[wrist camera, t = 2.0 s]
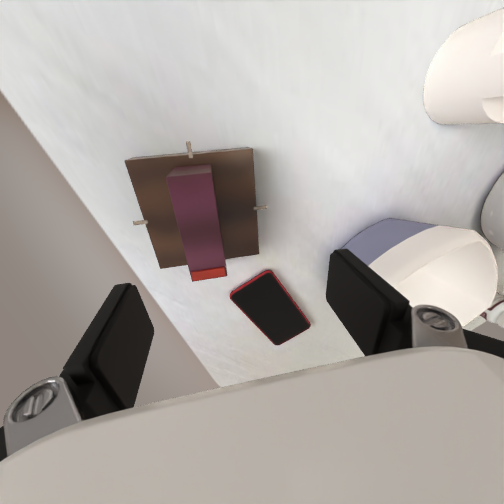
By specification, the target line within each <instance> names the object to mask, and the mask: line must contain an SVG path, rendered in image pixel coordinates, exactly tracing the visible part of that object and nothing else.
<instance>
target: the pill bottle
mask: <svg viewBox="0 0 504 504" xmlns="http://www.w3.org/2000/svg"><path fill="white" fill-rule="evenodd" d="M480 316H482V317H483V318H485V319H486V320H488V321H490V322H492V323H497V324H498V325H499V326H500V327H502V328H504V296H503V295H501V294H499V293H497V292H496V295H495V297H494V299H493V302H492V304H491V306H490V307H489V308H488V309H486V310H485V311H484V312H483V313H481V314H480Z"/></svg>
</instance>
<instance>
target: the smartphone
mask: <svg viewBox="0 0 504 504" xmlns="http://www.w3.org/2000/svg"><path fill="white" fill-rule="evenodd" d="M230 299H231V300H232V301H233V302H234V303H235V304H236V305H237V306H238V307H239V308H240V309H241V311H242V312H243V313H244V314H245V315H246V316H247V317H248V318H249V319H250V320H251V321H252V322H253V323H254V324H255V325H256V326H257V327H258V328H259V329H260V330H261V331H262V332H263V333H264V334H265V335H266V336H267V337H268V339H269V340H270V341H271V342H272V343H273V344H274V345H281V344H282V343H284V342H286V341H288V340H289V339H291V338H293V337H295V336H297V335H298V334H300V333H302V332H304V331H305V330H307V329H309V328H310V326H311V324H310V322H309V321H308V320H307V318H306V317H305V315H304V314H303V313H302V311H301V310H300V309H299V307H298V306H297V305H296V303H295V302H294V300H293V299H292V298H291V296H290V295H289V294H288V292H287V291H286V290H285V288H284V287H283V286H282V284H281V283H280V281H279V280H278V279H277V277H276V276H275V275H274V273H273V272H272V271H269V270H266V271H264V272H263V273H261V274H259V275H258V276H256V277H255V278H253V279H251V280H250V281H248V282H247V283H245V284H243V285H242V286H240V287H239V288H237V289H235V290H234V291H232V292H231V294H230Z"/></svg>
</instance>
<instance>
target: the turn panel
mask: <svg viewBox="0 0 504 504" xmlns="http://www.w3.org/2000/svg"><path fill="white" fill-rule="evenodd" d="M186 144H187V149H188V153H179V154H168V155H157V156H146V157H135V158H131V159H128V160H125V164H126V167H127V170H128V173H129V176H130V179H131V182H132V185H133V188H134V191H135V194H136V197H137V200H138V203H139V206H140V209H141V212H142V215H143V218H144V220H142V221H133V224H134V225H139V224H146V227H147V230H148V233H149V236H150V239H151V242H152V245H153V248H154V251H155V254H156V257H157V260H158V263H159V266H160V269H162V268H169V267H176V266H182V265H188V263H187V259H186V255H185V251H184V247H183V244H182V240H181V236H180V232H179V228H178V224H177V220H176V216H175V212H174V208H173V204H172V201H171V197H170V193H169V189H168V185H167V181H166V176H167V175H168V174H169V173H170V172H171V171H172V170H173V169H174V168H175V167H186V166H196V165H206V164H211V168H212V175H213V181H214V188H215V194H216V201H217V207H218V214H219V220H220V227H221V234H222V240H223V247H224V253H225V259H230V258H236V257H243V256H250V255H257V254H259V242H258V226H257V210H260V209H266V205H264V206H256V194H255V178H254V162H253V149H252V148H249V147H245V148H234V149H223V150H212V151H201V152H192V149H191V143H190V141H189V142H186Z"/></svg>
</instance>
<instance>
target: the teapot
mask: <svg viewBox="0 0 504 504" xmlns="http://www.w3.org/2000/svg"><path fill="white" fill-rule="evenodd" d="M481 227H482V231H483V233H484V235H485V237H486V238H487V239H488V240H489V241H490V242H491V243H492V244H494V245H495V246H497V247H499V248H501V249H502V251H503V252H504V173H503V174H502V175H501V176H500V178H499V179H498V180H497V182H496V183H495V185H494V186H493V188H492V189H491V191H490V193H489V194H488V197H487V199H486V201H485V203H484V206H483V210H482V214H481Z"/></svg>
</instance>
